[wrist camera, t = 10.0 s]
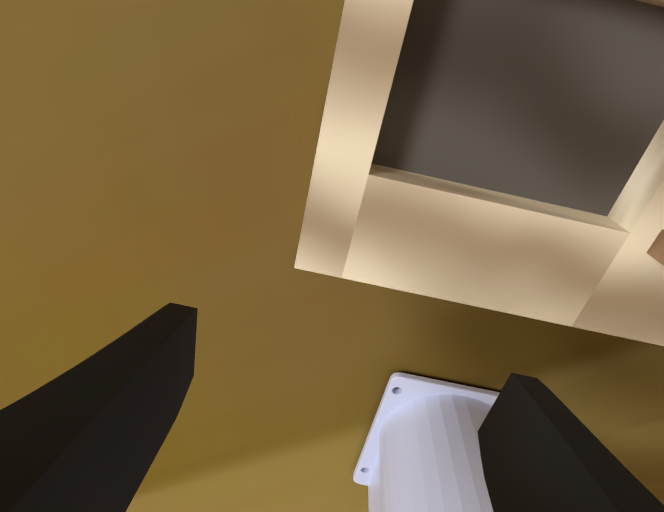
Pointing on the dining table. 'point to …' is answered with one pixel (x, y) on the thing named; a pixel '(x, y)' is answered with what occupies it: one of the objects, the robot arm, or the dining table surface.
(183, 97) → the dining table surface
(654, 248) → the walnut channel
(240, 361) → the dining table surface
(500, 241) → the birch deck
